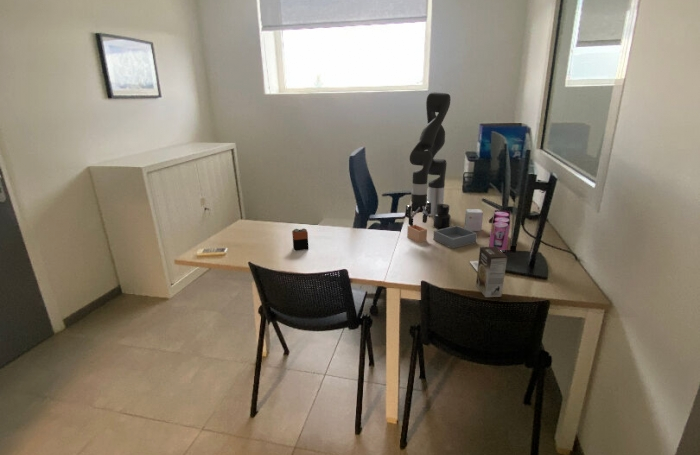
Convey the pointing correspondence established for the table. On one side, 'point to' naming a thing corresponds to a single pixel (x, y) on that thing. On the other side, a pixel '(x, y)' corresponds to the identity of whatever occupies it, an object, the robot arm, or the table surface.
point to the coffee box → (491, 271)
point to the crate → (454, 236)
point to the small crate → (417, 233)
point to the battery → (300, 239)
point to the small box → (473, 219)
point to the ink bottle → (442, 216)
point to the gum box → (500, 229)
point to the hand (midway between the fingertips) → (417, 224)
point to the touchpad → (475, 264)
